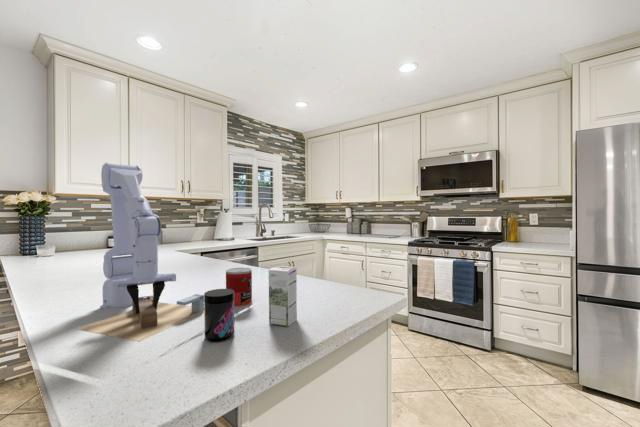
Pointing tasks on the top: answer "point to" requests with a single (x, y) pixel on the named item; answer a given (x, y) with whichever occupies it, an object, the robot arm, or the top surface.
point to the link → (146, 313)
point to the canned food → (240, 285)
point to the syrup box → (282, 295)
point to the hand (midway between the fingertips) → (146, 311)
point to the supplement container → (219, 314)
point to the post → (143, 298)
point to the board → (131, 327)
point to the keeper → (194, 302)
